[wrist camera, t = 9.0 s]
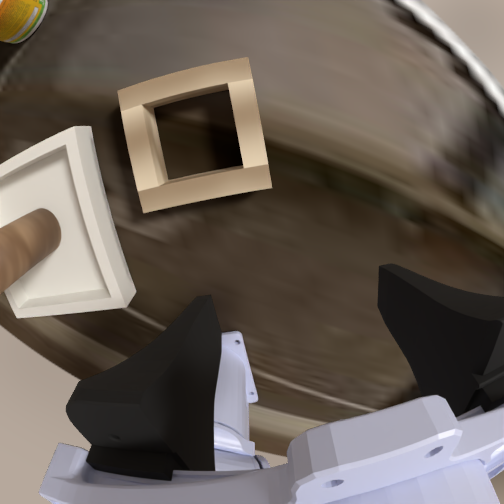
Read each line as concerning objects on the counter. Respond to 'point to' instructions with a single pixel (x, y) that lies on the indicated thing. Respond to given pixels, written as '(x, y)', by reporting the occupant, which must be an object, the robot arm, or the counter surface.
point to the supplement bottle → (20, 18)
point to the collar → (148, 144)
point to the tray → (66, 228)
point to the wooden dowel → (26, 244)
